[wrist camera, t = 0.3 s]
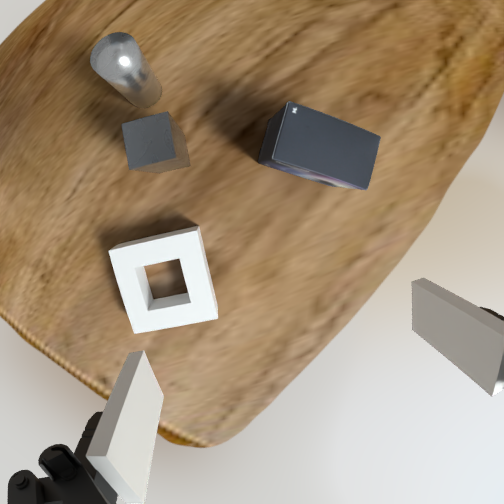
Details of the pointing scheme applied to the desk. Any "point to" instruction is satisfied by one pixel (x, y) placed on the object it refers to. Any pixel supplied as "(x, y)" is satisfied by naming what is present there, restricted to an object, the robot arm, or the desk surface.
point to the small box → (319, 147)
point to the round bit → (126, 69)
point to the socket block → (173, 307)
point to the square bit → (155, 144)
